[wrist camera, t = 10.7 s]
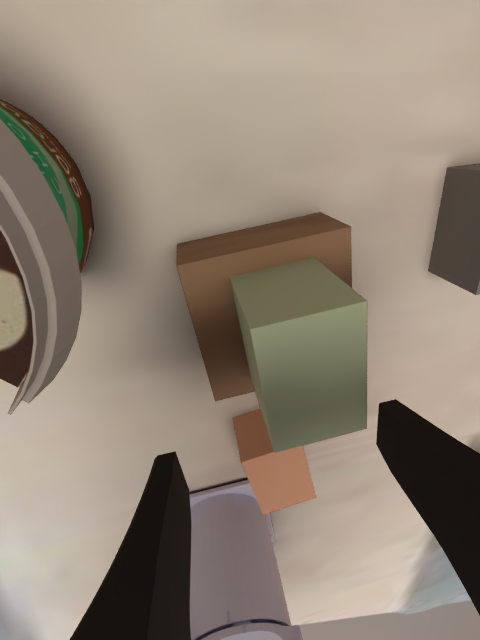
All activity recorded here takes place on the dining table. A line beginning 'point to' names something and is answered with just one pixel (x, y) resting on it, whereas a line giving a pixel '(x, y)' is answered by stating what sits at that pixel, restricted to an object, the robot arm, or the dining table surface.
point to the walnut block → (239, 258)
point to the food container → (38, 252)
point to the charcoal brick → (459, 229)
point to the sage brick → (304, 351)
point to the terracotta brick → (271, 466)
